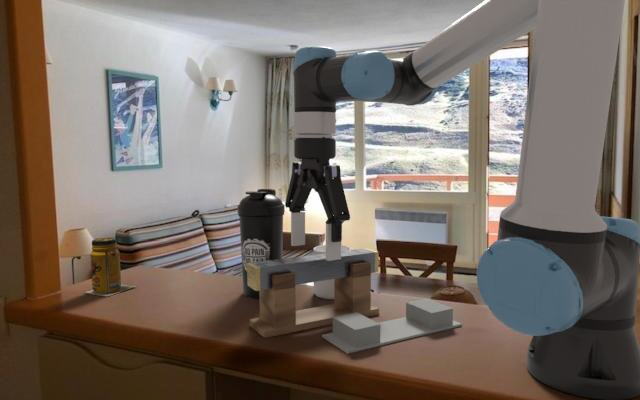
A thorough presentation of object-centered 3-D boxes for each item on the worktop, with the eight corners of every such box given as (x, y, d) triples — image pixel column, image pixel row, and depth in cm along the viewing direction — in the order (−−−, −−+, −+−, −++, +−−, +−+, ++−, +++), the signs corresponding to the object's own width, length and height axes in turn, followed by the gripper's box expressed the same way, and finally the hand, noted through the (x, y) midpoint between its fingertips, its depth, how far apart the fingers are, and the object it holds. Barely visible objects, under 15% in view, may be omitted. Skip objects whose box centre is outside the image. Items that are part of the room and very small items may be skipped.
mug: (372, 294, 112) (373, 248, 111) (357, 304, 105) (357, 255, 104) (324, 287, 118) (324, 243, 116) (306, 296, 110) (306, 250, 109)
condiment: (83, 293, 114) (80, 240, 113) (114, 283, 122) (112, 234, 120) (106, 297, 111) (103, 243, 110) (136, 287, 118) (134, 236, 117)
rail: (366, 267, 103) (366, 248, 102) (378, 271, 99) (378, 251, 99) (247, 285, 90) (247, 263, 90) (256, 291, 87) (255, 268, 86)
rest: (461, 325, 92) (462, 307, 92) (347, 353, 80) (347, 332, 80) (431, 313, 99) (432, 296, 99) (322, 337, 87) (322, 317, 87)
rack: (379, 314, 99) (379, 261, 97) (264, 338, 87) (263, 278, 86) (359, 304, 105) (359, 254, 103) (249, 325, 93) (248, 269, 92)
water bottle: (231, 298, 110) (228, 191, 107) (251, 285, 119) (249, 187, 117) (275, 302, 107) (273, 192, 104) (292, 288, 116) (290, 188, 114)
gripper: (372, 136, 83) (369, 264, 86) (301, 136, 105) (301, 238, 107) (332, 136, 79) (331, 269, 82) (268, 136, 101) (269, 241, 104)
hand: (314, 252), depth 95 cm, fingers open, 13 cm apart
